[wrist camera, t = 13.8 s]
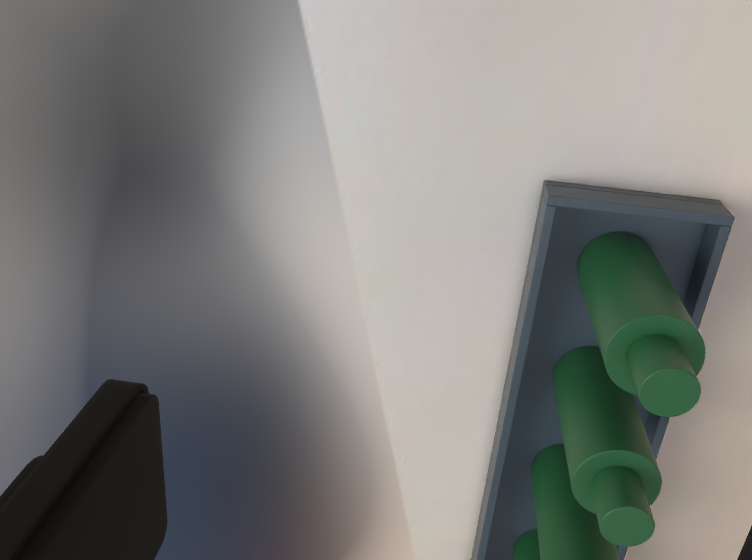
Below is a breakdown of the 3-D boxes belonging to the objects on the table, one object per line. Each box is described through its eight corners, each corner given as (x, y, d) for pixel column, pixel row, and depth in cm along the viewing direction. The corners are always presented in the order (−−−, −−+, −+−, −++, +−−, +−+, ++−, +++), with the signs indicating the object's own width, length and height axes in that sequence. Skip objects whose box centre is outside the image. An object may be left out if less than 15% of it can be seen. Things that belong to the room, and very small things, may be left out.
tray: (543, 180, 42) (548, 195, 40) (719, 200, 42) (735, 217, 39) (466, 583, 57) (466, 613, 55) (593, 603, 57) (599, 634, 54)
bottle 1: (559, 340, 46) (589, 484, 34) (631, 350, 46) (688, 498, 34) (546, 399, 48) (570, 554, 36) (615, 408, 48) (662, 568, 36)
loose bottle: (585, 226, 42) (629, 341, 30) (663, 235, 42) (739, 356, 30) (569, 294, 44) (605, 428, 32) (644, 303, 44) (708, 442, 32)
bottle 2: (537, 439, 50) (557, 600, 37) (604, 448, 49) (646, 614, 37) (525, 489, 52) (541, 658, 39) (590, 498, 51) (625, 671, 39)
